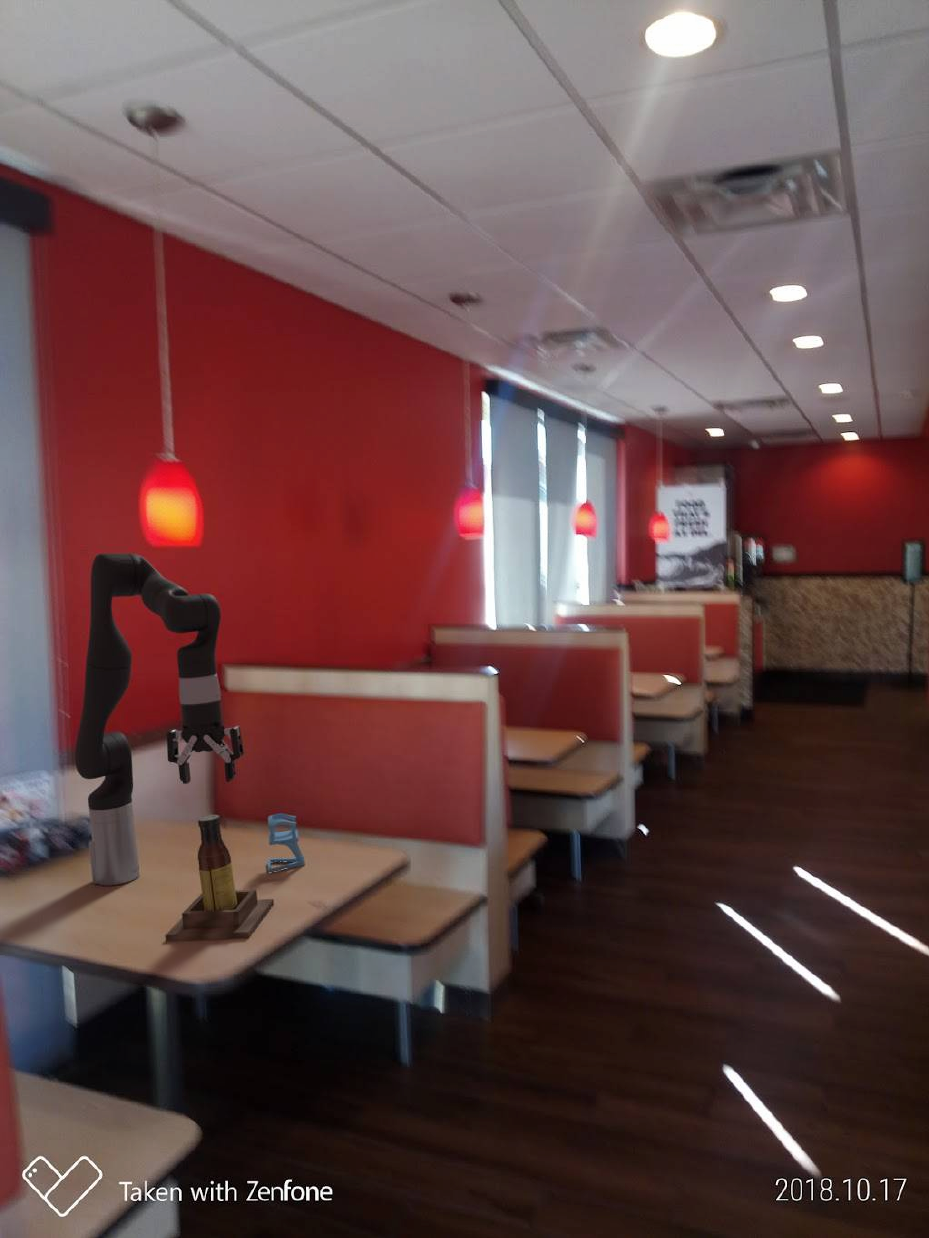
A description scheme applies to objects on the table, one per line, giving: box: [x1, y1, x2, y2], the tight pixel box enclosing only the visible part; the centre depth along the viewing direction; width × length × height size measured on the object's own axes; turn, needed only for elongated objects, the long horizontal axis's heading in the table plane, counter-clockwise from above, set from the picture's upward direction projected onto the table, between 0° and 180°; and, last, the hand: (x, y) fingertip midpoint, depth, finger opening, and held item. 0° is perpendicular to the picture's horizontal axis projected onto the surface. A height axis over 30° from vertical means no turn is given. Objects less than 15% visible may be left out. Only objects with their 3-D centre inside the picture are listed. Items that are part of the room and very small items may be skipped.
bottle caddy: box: [164, 889, 275, 942], centre depth 183 cm, size 16×16×4 cm
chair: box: [267, 813, 306, 873], centre depth 213 cm, size 8×8×12 cm
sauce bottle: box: [197, 814, 237, 911], centre depth 182 cm, size 7×6×20 cm
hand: (208, 781), depth 180 cm, fingers open, 8 cm apart
